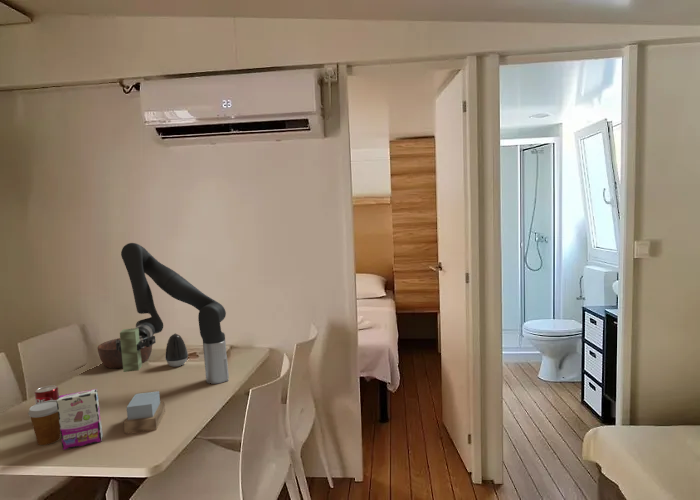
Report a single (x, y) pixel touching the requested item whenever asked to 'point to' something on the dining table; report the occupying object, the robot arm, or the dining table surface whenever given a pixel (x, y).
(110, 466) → the dining table surface
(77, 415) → the candy bar box
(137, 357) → the olive block
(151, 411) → the blue gray tower block
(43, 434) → the disposable coffee cup
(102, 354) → the wooden bowl
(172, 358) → the black egg shape
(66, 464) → the dining table surface
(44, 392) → the soda can
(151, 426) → the tower base
